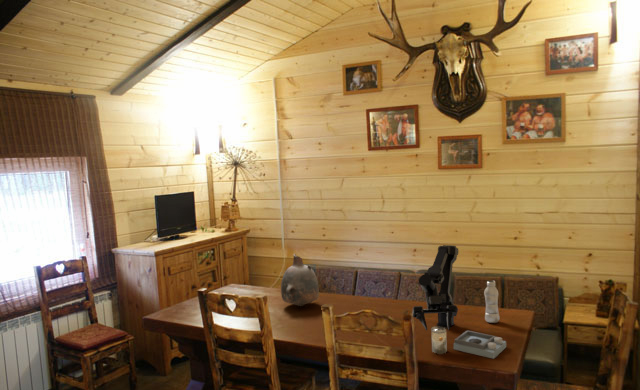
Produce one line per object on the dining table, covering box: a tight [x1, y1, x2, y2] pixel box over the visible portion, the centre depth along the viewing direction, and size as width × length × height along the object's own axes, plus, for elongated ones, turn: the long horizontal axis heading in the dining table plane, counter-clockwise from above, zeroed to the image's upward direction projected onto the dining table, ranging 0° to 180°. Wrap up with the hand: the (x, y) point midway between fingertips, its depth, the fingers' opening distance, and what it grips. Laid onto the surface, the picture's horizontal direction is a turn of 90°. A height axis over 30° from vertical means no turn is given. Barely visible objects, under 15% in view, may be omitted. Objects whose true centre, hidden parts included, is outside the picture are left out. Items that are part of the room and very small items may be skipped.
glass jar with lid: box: [430, 325, 448, 355], centre depth 198 cm, size 8×6×10 cm
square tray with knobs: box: [453, 330, 507, 359], centre depth 201 cm, size 17×14×4 cm
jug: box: [280, 253, 320, 307], centre depth 270 cm, size 24×21×30 cm
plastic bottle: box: [483, 280, 500, 324], centre depth 230 cm, size 6×7×20 cm
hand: (437, 329), depth 201 cm, fingers open, 9 cm apart
